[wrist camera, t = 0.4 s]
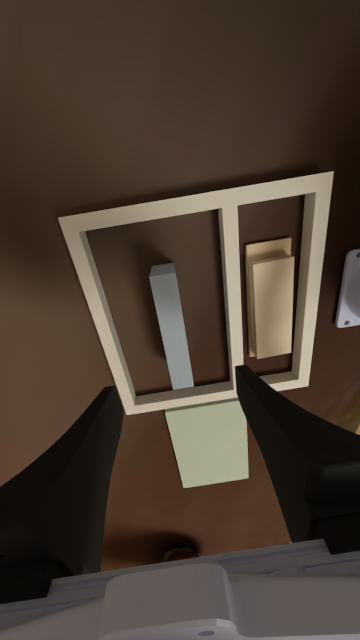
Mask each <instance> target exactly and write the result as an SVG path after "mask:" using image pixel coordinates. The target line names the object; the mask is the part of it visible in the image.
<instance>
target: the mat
mask: <svg viewBox="0 0 360 640" xmlns="http://www.w3.org/2000/svg"><path fill="white" fill-rule="evenodd" d="M165 415H166V419H167V423H168V427H169V431H170V435H171V439H172V443H173V447H174V451H175V455H176V459H177V463H178V467H179V471H180V475H181V479H182V483H183V488H188V487H195V486H201V485H207V484H214V483H220V482H227V481H233V480H239V479H246V478H249V477H248V449H247V420H246V417H245V415H244V413H243V410H242V408H241V405H240V402H239V399H238V397H237V398H231V399H224V400H218V401H212V402H206V403H199V404H193V405H187V406H181V407H174V408H168V409H165Z"/></svg>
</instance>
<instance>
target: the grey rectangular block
mask: <svg viewBox="0 0 360 640" xmlns="http://www.w3.org/2000/svg"><path fill="white" fill-rule="evenodd" d="M149 279H150V283H151V288H152V293H153V297H154V302H155V307H156V311H157V316H158V321H159V325H160V330H161V335H162V339H163V344H164V349H165V353H166V358H167V363H168V368H169V372H170V377H171V382H172V386H173V390H176V389H182V388H188V387H194V383H193V377H192V371H191V365H190V358H189V352H188V346H187V340H186V334H185V327H184V321H183V315H182V309H181V303H180V296H179V290H178V284H177V278H176V272H175V267H174V263H168V264H162V265H156V266H152V269H151V272H150V276H149Z"/></svg>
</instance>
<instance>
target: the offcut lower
mask: <svg viewBox="0 0 360 640" xmlns="http://www.w3.org/2000/svg"><path fill="white" fill-rule="evenodd" d="M290 254H291V238H283V239H277V240H271V241H266V242H260V243H254V244H248V245H245V255H246V285H247V316H248V347H249V356H250V357H253V356H255V355H254V353H253V340H252V321H251V303H250V284H249V265H248V262H253V261H258V260H263V259H268V258H273V257H278V256H283V255H290Z"/></svg>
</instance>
